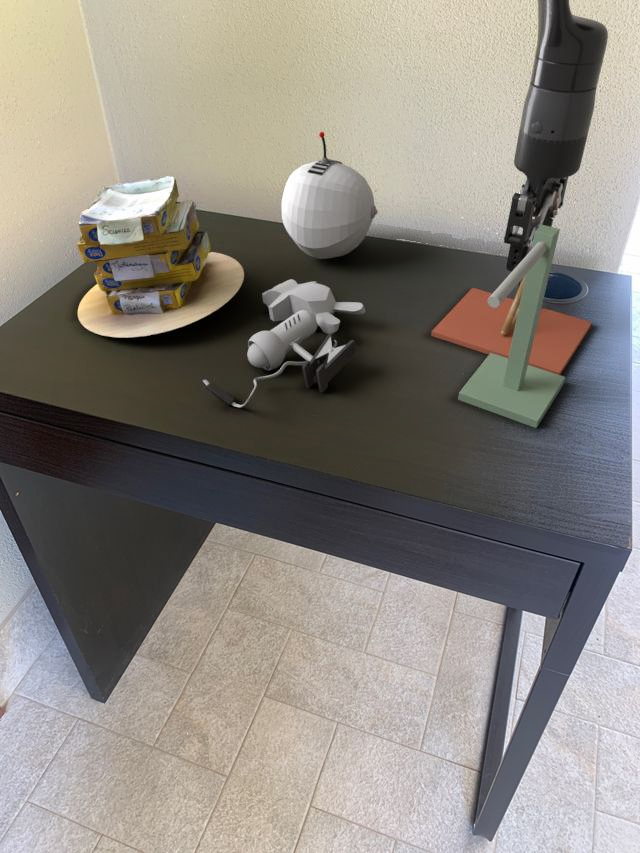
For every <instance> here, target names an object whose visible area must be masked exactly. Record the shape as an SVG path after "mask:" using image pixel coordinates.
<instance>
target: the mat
mask: <svg viewBox="0 0 640 853" xmlns="http://www.w3.org/2000/svg"><path fill="white" fill-rule="evenodd" d="M493 293H494V292H489V291H485V290H482V289H478V288H475V287H472V288H471V289H470V290H469V291H467V293H466V294H465V295H464V296H463V297H462V298H461V299H460V300H459V301H458V303H456V305H455V306H454V307H453V308H452V309H451V310H450V311H449V312H448V313H447V314H446V315H445V316H444V318H443V319H442V320H440V322H439V323H438V324H437V325H436V326H435V327H434V328H433V329H432V330H431V337H433V338H437V339H440V340H443V341H446V342H449V343H451V344H455V345H457V346H461V347H464V348H467V349H470V350H473V351H476V352H479V353H481V354H482V353H483V354H485V355H487V356H488V355H489V354H490V353H493V354H496V355H499V356H503V357H506V358H509V353H510V348H511V343H512V339H513V334H514V329H515V324H516V323H515V324H514V326H513V327H512V329H511V330H510V331H509V333H508V334H507V335H505V336H503V335H501V330H502V327H503V325H504V323H505V320H506V318H507V315H508V313H509V311H510V308H511V306H512V303H513V301H514V299H515V298H514V299H513V298H510V297H508V296H507V297H506V298H505V299H504V301H503V302H502V303H501V304H500V305H499V306H498V307H497V308H492V307H490V306H489V304H488V298H489V297H490V296H491V295H492V294H493ZM519 306H520V304H519ZM518 308H519V307H518ZM592 324H593V321H590V320H586V319H582V318H579V317H576V316H572V315H568V314H566V313H561V312H558V311H555V310H552V309H548V308H545V307H541V312H540V316H539V320H538V324H537V328H536V333H535V337H534V341H533V345H532V350H531V354H530V358H529V362H528V365H530V366H533V367H536V368H539V369H542V370H545V371H548V372H551V373H554V374H557V375H561V376H562V373H563V371H564V370H565V368H566V366H567V365H568V364H569V362H570V361H571V359H572V357H573V356H574V355H575V353H576V351H577V350H578V348H579V346H580V345H581V343H582V341H583V340H584V338H585V337H586V336H587V334H588V333H589V331H590V329H591V328H592Z"/></svg>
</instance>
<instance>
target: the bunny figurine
mask: <svg viewBox="0 0 640 853" xmlns="http://www.w3.org/2000/svg"><path fill="white" fill-rule="evenodd" d="M261 295H262V303H263V304H264V305H266V307H267V308H268V312H269V313H268V314H269V319H270V320H271V321H272V322H281V321H282V322H283V321H285V320H286V319H288V318H289V317H291V316H292V315H294V314H295V313H297V312H298V311H300V310H307V311H309V312H311V313H312V314H313V315H314V316H315V318H316V320H317V327H319V328H320V329H321V331H322V332H323V333H325V334H329V333H332V334H335V333H336V332H337V331H338V330H339V327H340V325H341V320H340V319H339V318H337V317H335V315H334V314H335V313H336V312H337V313H344V314H352V315H363V314H365V313H366V309H365V306H364V304H363V303H362V302H358V301H357V302H356V301H355V302H353V301H352V302H351V301H341V302H340V301H339V302H338V301H336V299H335V296H334V294H333V291H332V290H331V288H330V287H329V286H326V285H324V284H322V283H318V281H316V280H315V281H307V282H304V283H298V282H297V281H296V280H295V279H293V278H291V279H288V280H286V281H283V282H282V283H279V284H276V285H275V286H273V287H272V288H271V289H270V288H269V289H268V290H266V291H264V292H262V293H261Z"/></svg>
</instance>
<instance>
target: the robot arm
mask: <svg viewBox="0 0 640 853" xmlns="http://www.w3.org/2000/svg"><path fill="white" fill-rule="evenodd" d="M608 38H609V31H608V28H607V27H606V25H604V24H603V23H602V22H600V21H597V20H594V19H591V18H587V17H582V16H577V15H575V14H573V13H572V11H571V6H570V0H537V38H536V39H537V41H536V48H535V55H534V60H533V64H532V71H531V77H530V80H529V81H530V82H529V86H528V90H527V93H526V96H525V99H524V103H523V108H522V113H521V118H520V124H519V130H518V136H517V140H516V141H517V142H516V147H515V153H514V159H513V164H514V167H515V168H516V169H517V170H518V171H519V172H521V173H523V174H524V175H525V177H526V180H525V183H523V184H522V185H521V187H520V190H519V192H515V193H514V194H513V195H512V197H511V204H510V209H509V213H508V218H507V224H506V229H505V233H504V237H503V243H504V244H507V245H509V249H508V255H507V260H506V266H505V268H506V270H507V271H509V272H512V271H513V270H514V269H515V268H516V267H517V266H518V264H519V263H520V262H521V261H522V260H523V259H524V258H525V257H526V255H527V254H528V253H529V248H530V244H531V242H532V241H533V239H534V235H535V231H536V230H537V229H538V228H539V227H540V226H541V225H545V226H550V227H553V223H554V219H555V218H556V217H557V215H558V213H559V212H558V209H561V208H562V206H563V205H564V199H565V195H566V190H567V185H568V180H569V177H572V176H574V175H575V174H577V173H578V172H579V171H580V168H581V164H582V161H583V157H584V152H585V148H586V144H587V140H588V134H589V132H590V128H591V124H592V119H593V115H594V112H595V111H594V110H595V104H596V96H597V95H596V94H597V93H596V92H597V88H598V84H599V79H600V75H601V72H602V67H603V64H604V58H605V55H606V50H607V46H608V40H609V39H608ZM520 228H521V229H522V233H519V230H520Z"/></svg>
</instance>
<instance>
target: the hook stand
mask: <svg viewBox="0 0 640 853" xmlns="http://www.w3.org/2000/svg"><path fill="white" fill-rule="evenodd" d="M560 232H561V229H560V228H558V227H553V226H552V227H550V226H545V225H541V226H540V227H539V228H538V229H537V230H536V231H535V235H534V239H533V244H532V249H531V251H530V252H529V253H528V254H527V255H526V257H525V258H524V259H523V260H522V261H521V262H520V263H519V264H518V266H517V267H516V268H515V269H514V270H513V271H510V273H509V274H508V275H507V277H506V278H505V279H504V280H503V281H502V282H501V283H500V285H498V287H497V288H496V289H495V291H493V292H492V293H493V294H492V295H491V296H490V297H489V298H488V304H489V306H490V307H492V308H497V307H498V306H499V305H500V304H501V303H502V302H503V301H504V299H505V298H506V297H507V298H508V296H509V295H510V294H511V293H512V291H514V289H515V288H516V287H517V285H518V284H520V283H521V282H522V279H523V277H524V276H525V275H526V277H525V282H524V287H523V291H522V296H521V301H520V306H519V310H518V315H517V320H516V324H515V329H514V334H513V339H512V343H511V348H510V353H509V358H506V357H503V356H499V355H496V354H493V353H490V354H489V355H488V354H487V357H486V358H485V359H484V360H483V362H482V363H481V364H480V366H478V368H477V369H476V370H475V372H474V373H473V375H471V377H470V378H469V379H468V380H467V382H466V383H465V385H464V386H463V387H462V388H461V389H460V391H459V392H458V397H457V400H458V401H460V402H462V403H465V404H469V405H471V406H474V407H475V408H476V407H477V408H479V409H482V410H484V411H488V412H490V413H493V414H496V415H499V416H502V417H504V418H507V419H510V420H512V421H515V422H518V423H519V424H523V425H526V426H528V427H532V428H534V429H537V428H538V427H539V425H540V423H541V422H542V420H543V418H544V417H545V415H546V413H547V412H548V410H550V407H551V406H552V404H553V403H554V401H555V399H556V397H557V396H558V395H559V393H560V391H561V390H562V388H563V387H564V385H565V380H566V376H564V375H562V374H561V375H557V374H554V373H551V372H548V371H545V370H542V369H539V368H536V367H533V366H530V365H528V362H529V358H530V354H531V350H532V345H533V341H534V337H535V333H536V328H537V324H538V320H539V316H540V312H541V308H543V307H542V306H543V302H544V298H545V294H546V290H547V286H548V281H549V277H550V273H551V269H552V264H553V261H554V255H555V252H556V248H557V245H558V244H557V243H558V239H559V236H560Z"/></svg>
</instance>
